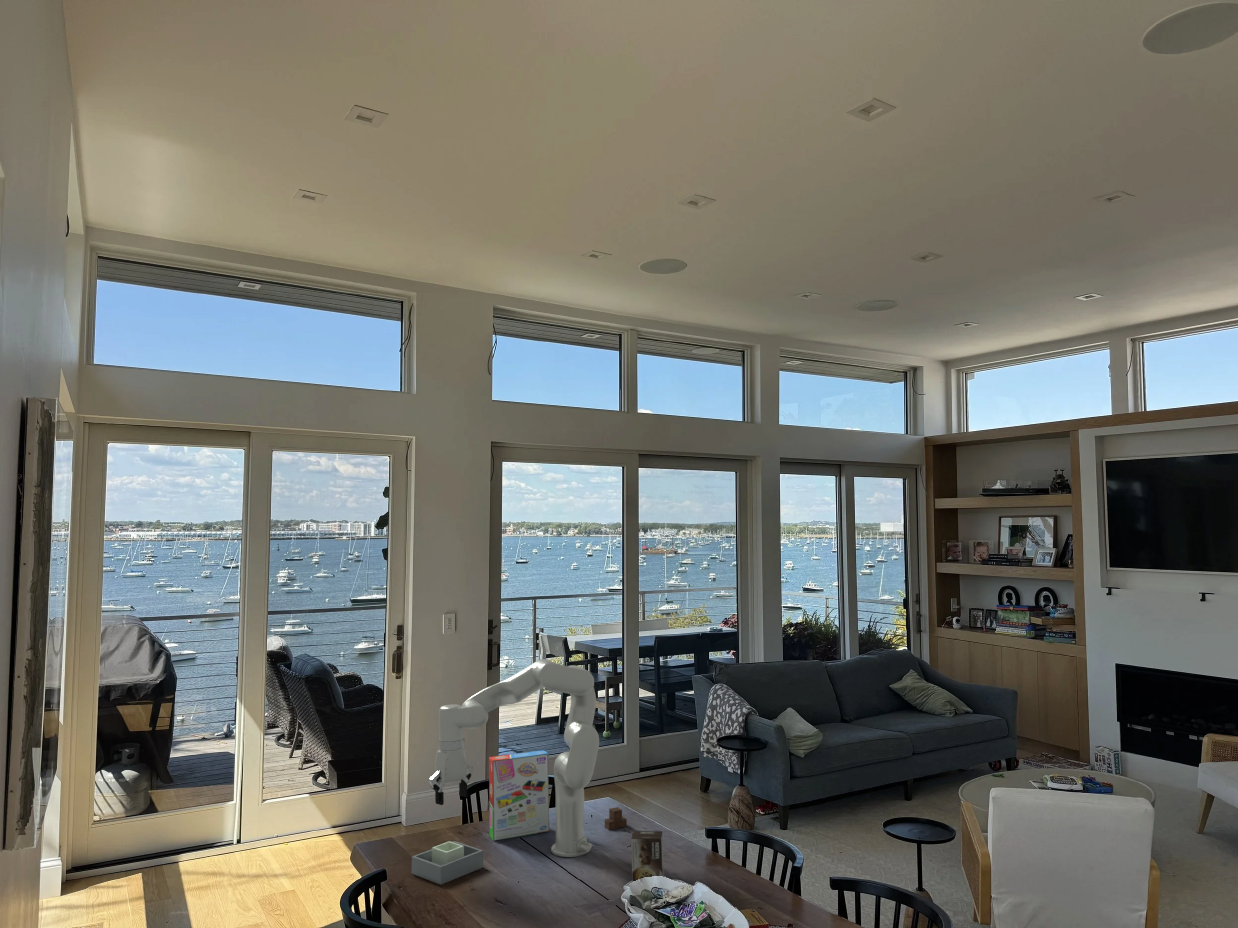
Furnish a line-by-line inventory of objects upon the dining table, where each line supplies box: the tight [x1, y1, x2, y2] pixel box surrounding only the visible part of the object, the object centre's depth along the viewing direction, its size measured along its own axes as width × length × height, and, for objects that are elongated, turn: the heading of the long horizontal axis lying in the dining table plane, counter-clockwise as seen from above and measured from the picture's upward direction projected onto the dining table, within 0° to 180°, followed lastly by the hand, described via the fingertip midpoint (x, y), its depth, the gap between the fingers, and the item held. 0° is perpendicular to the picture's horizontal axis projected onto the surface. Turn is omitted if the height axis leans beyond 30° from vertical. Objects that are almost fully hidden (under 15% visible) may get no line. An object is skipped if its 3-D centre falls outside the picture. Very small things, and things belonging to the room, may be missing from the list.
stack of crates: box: [604, 806, 628, 831], centre depth 300 cm, size 15×15×7 cm
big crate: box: [411, 840, 484, 886], centre depth 263 cm, size 14×17×6 cm
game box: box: [488, 749, 550, 842], centre depth 296 cm, size 21×6×27 cm, turn 114°
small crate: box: [431, 840, 464, 865], centre depth 264 cm, size 7×7×6 cm
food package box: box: [630, 830, 665, 882], centre depth 246 cm, size 9×6×16 cm
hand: (451, 799), depth 267 cm, fingers open, 9 cm apart
